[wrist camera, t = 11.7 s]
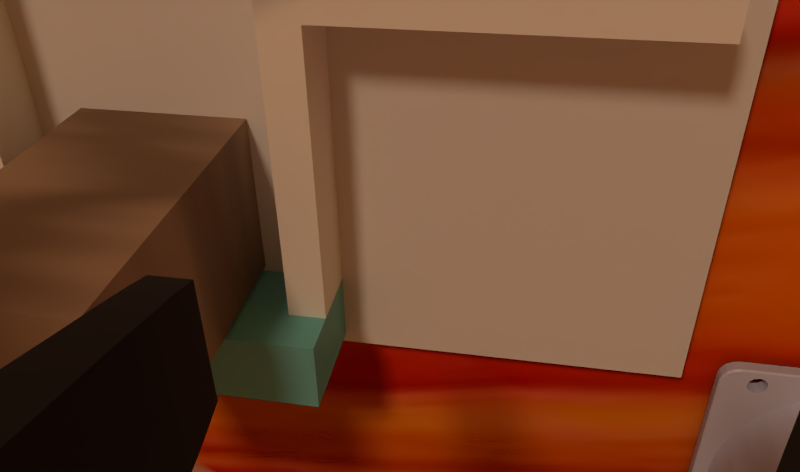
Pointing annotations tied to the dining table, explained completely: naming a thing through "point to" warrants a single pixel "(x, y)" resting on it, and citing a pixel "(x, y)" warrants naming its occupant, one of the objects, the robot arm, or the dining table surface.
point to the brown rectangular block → (126, 220)
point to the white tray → (433, 162)
